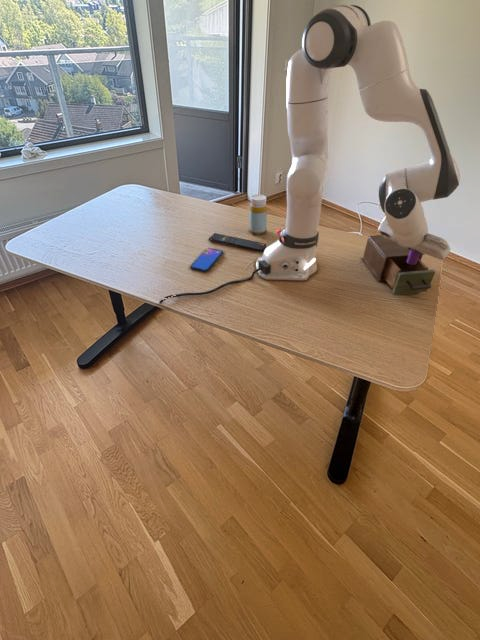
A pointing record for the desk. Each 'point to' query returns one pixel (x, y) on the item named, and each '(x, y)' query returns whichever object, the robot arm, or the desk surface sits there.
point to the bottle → (258, 214)
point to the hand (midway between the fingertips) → (416, 249)
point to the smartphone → (206, 260)
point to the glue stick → (413, 257)
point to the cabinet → (382, 254)
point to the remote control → (238, 242)
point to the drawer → (407, 276)
